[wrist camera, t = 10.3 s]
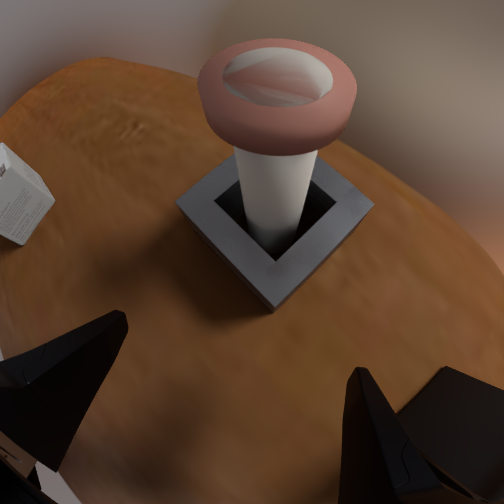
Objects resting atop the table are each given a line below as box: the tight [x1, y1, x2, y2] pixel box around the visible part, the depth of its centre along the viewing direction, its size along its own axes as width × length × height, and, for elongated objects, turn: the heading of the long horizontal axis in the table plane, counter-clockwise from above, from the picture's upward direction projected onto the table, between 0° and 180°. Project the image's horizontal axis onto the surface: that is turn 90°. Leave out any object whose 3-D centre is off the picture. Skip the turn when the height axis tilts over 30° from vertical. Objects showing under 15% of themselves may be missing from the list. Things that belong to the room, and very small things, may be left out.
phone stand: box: [397, 366, 504, 503], centre depth 8 cm, size 9×6×12 cm, turn 35°
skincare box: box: [0, 142, 55, 246], centre depth 18 cm, size 6×6×7 cm
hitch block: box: [175, 153, 374, 313], centre depth 17 cm, size 8×8×4 cm
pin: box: [197, 39, 357, 254], centre depth 13 cm, size 5×5×13 cm
